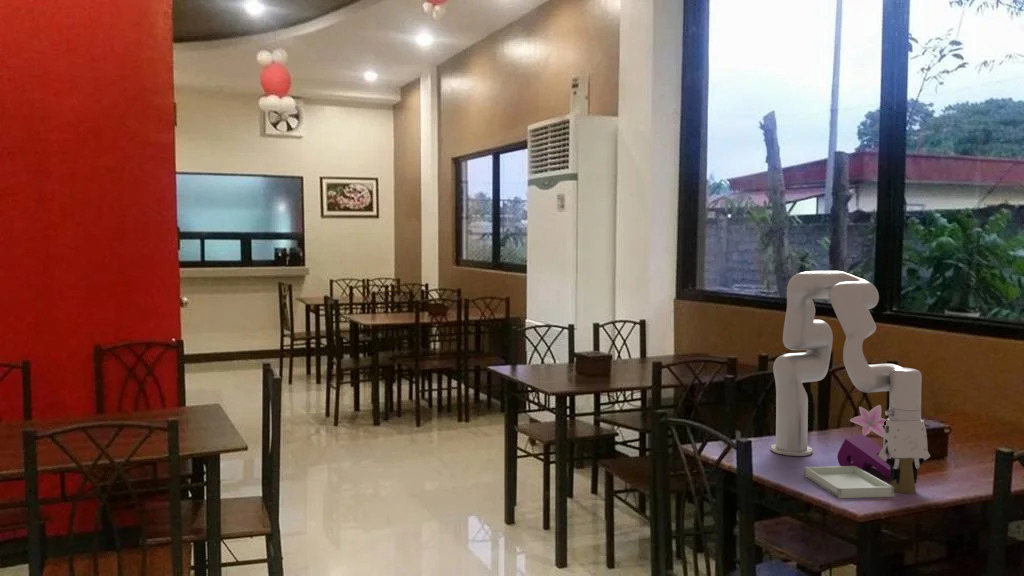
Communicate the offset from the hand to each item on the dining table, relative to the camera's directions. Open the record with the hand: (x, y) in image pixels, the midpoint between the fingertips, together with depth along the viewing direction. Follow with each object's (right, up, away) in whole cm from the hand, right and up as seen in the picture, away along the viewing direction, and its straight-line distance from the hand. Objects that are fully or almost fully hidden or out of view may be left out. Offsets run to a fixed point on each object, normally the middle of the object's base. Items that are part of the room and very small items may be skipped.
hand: (903, 481), depth 204 cm
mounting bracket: (0, -2, +16) cm, 16 cm away
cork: (0, -2, 0) cm, 3 cm away
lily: (+21, 0, +63) cm, 66 cm away
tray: (-13, -2, +4) cm, 14 cm away
